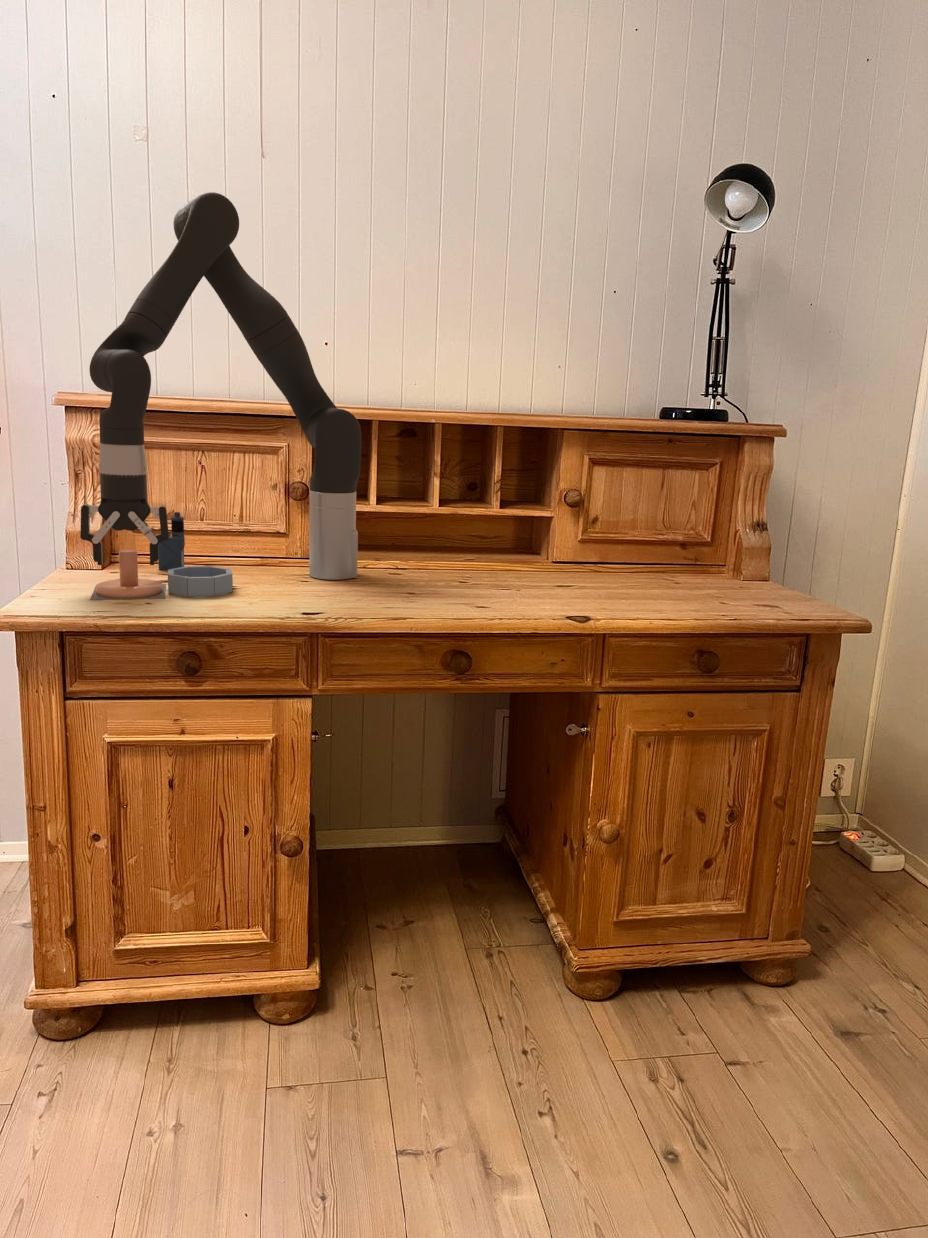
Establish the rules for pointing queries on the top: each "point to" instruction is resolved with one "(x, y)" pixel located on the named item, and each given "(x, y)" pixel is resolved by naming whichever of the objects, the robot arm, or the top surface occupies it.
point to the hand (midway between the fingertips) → (126, 564)
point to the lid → (128, 581)
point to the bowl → (200, 581)
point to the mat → (159, 596)
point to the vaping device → (173, 546)
